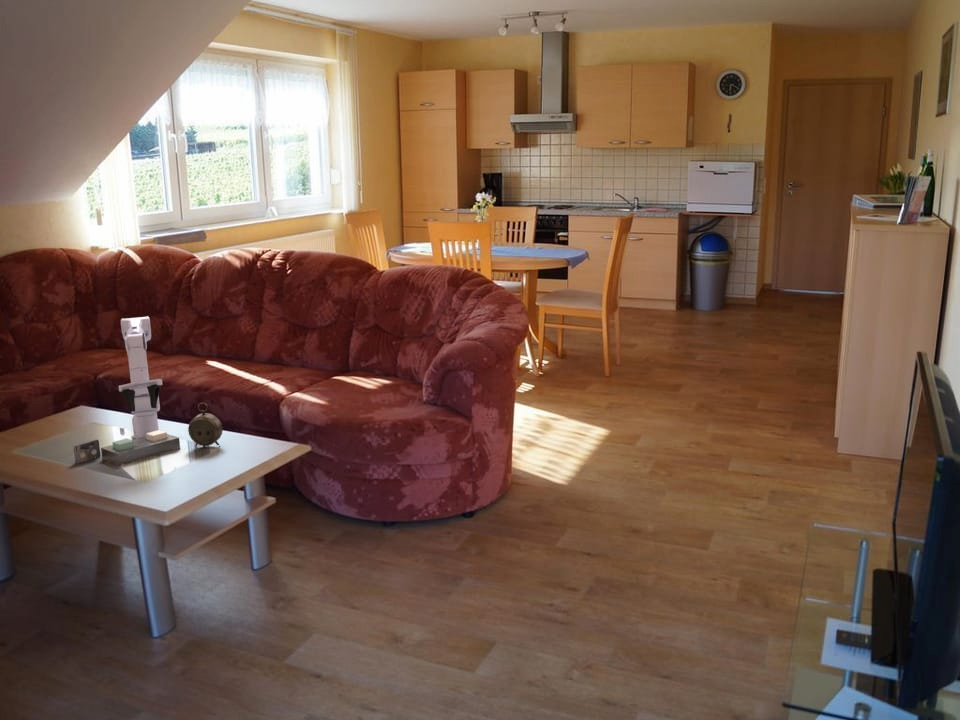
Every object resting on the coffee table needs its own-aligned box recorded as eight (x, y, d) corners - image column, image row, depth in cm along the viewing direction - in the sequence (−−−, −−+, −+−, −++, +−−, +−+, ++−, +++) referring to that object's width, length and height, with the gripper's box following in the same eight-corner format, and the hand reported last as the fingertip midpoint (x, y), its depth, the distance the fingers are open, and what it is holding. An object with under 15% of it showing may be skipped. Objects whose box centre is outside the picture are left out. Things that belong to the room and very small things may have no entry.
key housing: (102, 459, 293) (100, 447, 292) (162, 442, 309) (161, 432, 308) (119, 465, 285) (118, 454, 284) (180, 448, 301) (179, 437, 300)
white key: (147, 444, 301) (145, 433, 300) (160, 440, 304) (159, 429, 304) (154, 446, 297) (153, 435, 297) (167, 443, 301) (166, 432, 300)
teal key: (113, 453, 292) (112, 442, 291) (127, 449, 295) (126, 438, 295) (121, 456, 289) (119, 444, 288) (135, 452, 292) (133, 440, 291)
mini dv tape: (98, 456, 297) (96, 439, 295) (100, 456, 296) (98, 439, 295) (75, 462, 290) (73, 445, 289) (77, 463, 289) (75, 446, 288)
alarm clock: (224, 445, 303) (220, 400, 300) (218, 450, 298) (214, 404, 295) (194, 445, 304) (190, 400, 301) (188, 450, 299) (183, 404, 296)
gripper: (111, 372, 286) (116, 412, 284) (152, 365, 284) (157, 406, 283) (123, 373, 293) (128, 413, 291) (163, 366, 291) (168, 406, 290)
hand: (143, 409), depth 287 cm, fingers open, 7 cm apart
